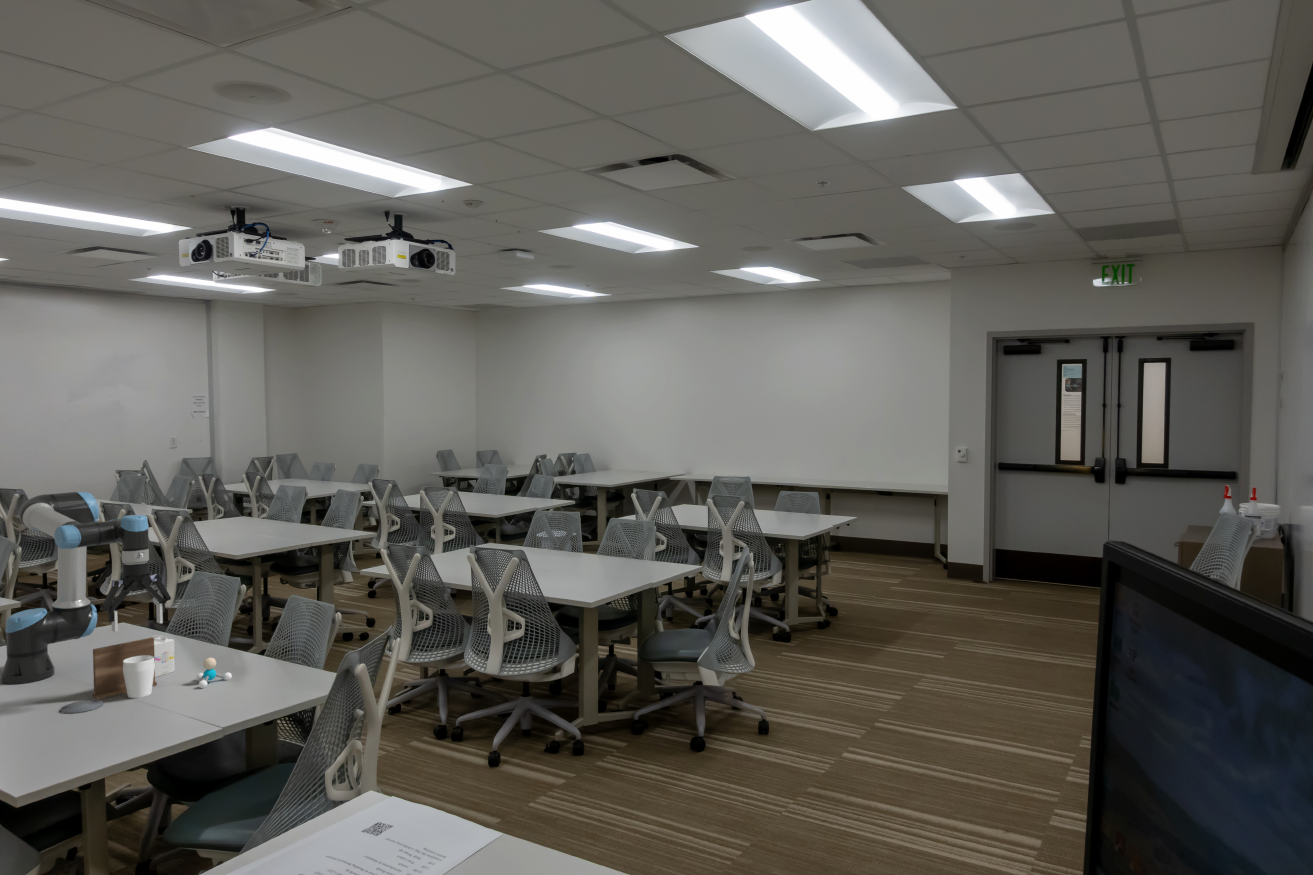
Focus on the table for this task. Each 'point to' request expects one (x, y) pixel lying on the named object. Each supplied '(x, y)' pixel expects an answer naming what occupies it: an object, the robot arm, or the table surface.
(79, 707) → the grey smooth rounded part
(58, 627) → the robot arm
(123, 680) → the brown wooden slab
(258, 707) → the table surface
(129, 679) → the cup
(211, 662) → the molecule model
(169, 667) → the ink box
